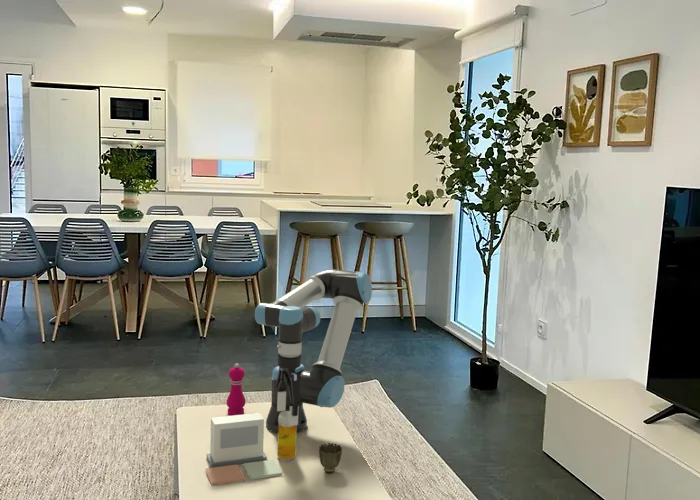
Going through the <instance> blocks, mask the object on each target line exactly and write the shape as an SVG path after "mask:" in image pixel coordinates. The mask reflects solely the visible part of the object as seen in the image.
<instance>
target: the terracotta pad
mask: <svg viewBox="0 0 700 500" xmlns="http://www.w3.org/2000/svg"><path fill="white" fill-rule="evenodd" d="M204 469H205V471H204V472H205V473H206V475H207V479H208V481H209V482H210V485H211V486H216V485H223V484H230V483H236V482H243V481H245V476H244V475H243V473H242V471H241V468H240V467H239V465H237V464H236V465H228V466H221V467H213V468H211V467H209V468H206V467H205V468H204Z"/></svg>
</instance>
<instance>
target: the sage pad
mask: <svg viewBox="0 0 700 500" xmlns="http://www.w3.org/2000/svg"><path fill="white" fill-rule="evenodd" d="M242 466H243V469H244V470H245V472H246V473H247V476H248V477H249V478H250V480H252V481H253V480H258V479H263V478H271V477H277V476H279V477H280V476H283V471H282V470H281V468H280V467H279V465H278V463H276V461H275V459H268V460H266V461H258V462H251V463H243V465H242Z"/></svg>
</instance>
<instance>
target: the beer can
mask: <svg viewBox="0 0 700 500" xmlns="http://www.w3.org/2000/svg"><path fill="white" fill-rule="evenodd" d="M289 414H290V411H283V412H281V413H280V415H279V417H278V433H277V447H276V448H277V449H276V450H277V453H276V456H277V457H278V459H279V460H281V461H284V462H285V461H286V462H287V461H293V459H294V458H296V455H297V433H296V431H297V425H292V426H290V425H289Z"/></svg>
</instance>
